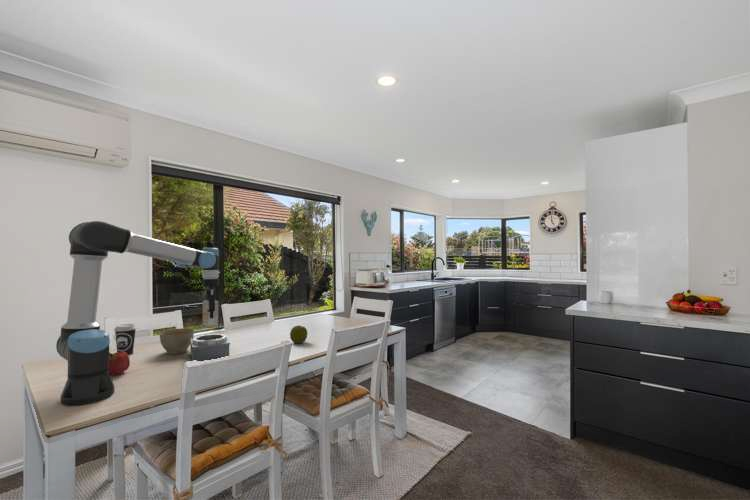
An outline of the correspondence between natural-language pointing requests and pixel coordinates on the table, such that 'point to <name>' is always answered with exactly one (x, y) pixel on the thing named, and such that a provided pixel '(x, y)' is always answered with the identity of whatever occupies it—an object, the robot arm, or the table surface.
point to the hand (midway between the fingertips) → (210, 322)
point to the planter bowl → (176, 340)
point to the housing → (209, 347)
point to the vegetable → (118, 363)
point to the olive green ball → (298, 334)
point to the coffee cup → (125, 337)
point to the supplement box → (205, 314)
